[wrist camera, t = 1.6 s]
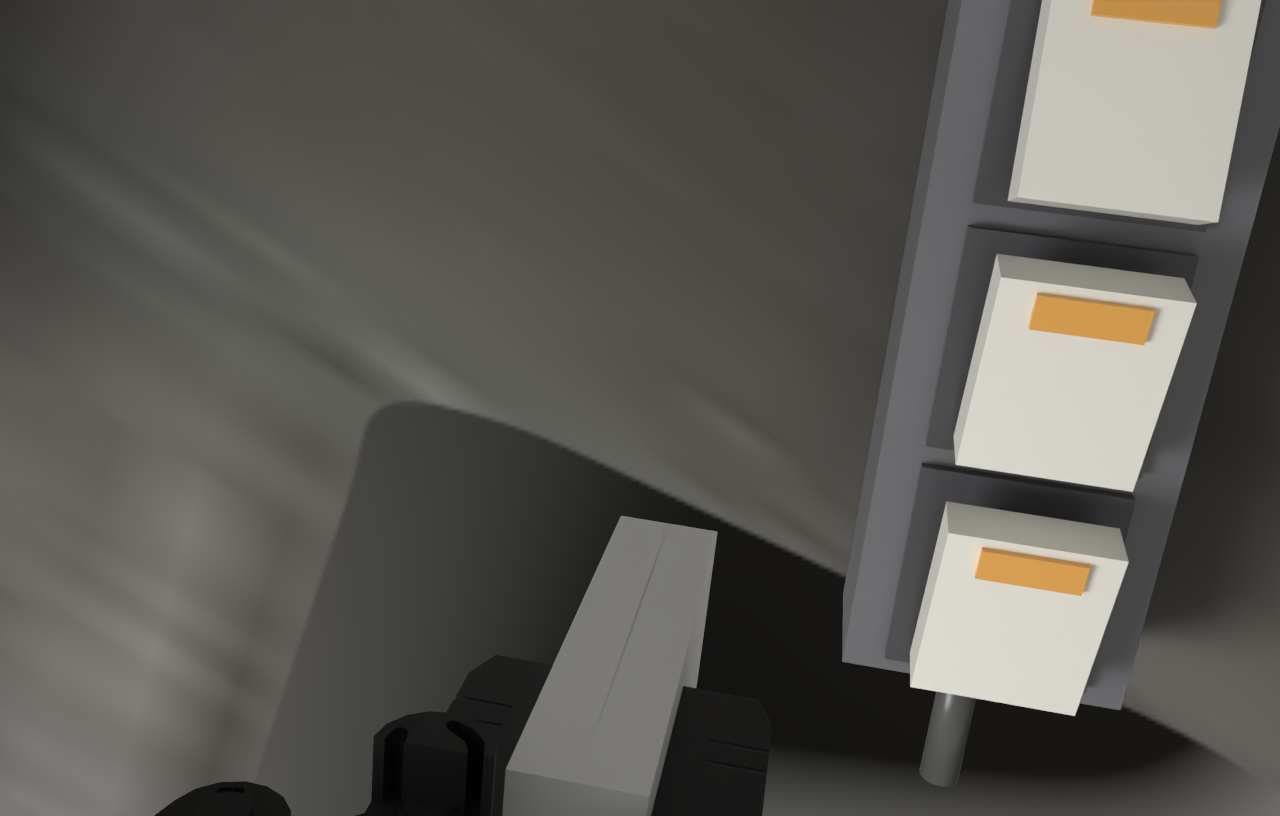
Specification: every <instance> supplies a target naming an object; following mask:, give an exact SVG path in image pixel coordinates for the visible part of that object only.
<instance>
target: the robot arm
mask: <svg viewBox="0 0 1280 816" xmlns="http://www.w3.org/2000/svg"><path fill="white" fill-rule="evenodd" d="M716 538H717V532H716V531H710V530H704V529H698V528H692V527H685V526H680V525H673V524H667V523H661V522H655V521H649V520H643V519H636V518H631V517H625V516H621V517H620V519H619V522H618V524H617V526H616V528H615V530H614V533H613V535H612V537H611V539H610V541H609V544H608V546H607V548H606V550H605V552H604V555H603V557H602V559H601V561H600V563H599V566H598V568H597V570H596V572H595V574H594V577H593V579H592V581H591V583H590V585H589V588H588V590H587V592H586V594H585V596H584V598H583V601H582V603H581V605H580V607H579V609H578V612H577V614H576V616H575V618H574V620H573V623H572V625H571V627H570V629H569V632H568V634H567V636H566V638H565V640H564V642H563V645H562V647H561V649H560V651H559V653H558V655H557V658H556V660H555V662H554V664H553V665H549V664H543V663H538V662H532V661H527V660H521V659H516V658H510V657H505V656H499V655H495V656H494V657H492V658H491V659H489V660H488V661H486V662H485V663H483V664H481V665H480V666H478V667H477V668H475V669H474V670H472V671H471V672H469V674H468V676H467V677H466V679H465V681H464V683H463V685H462V686H461V688H460V690H459V691H458V693H457V695H456V699H455V700H453V702H452V704H451V705H450V707H449V709H448V710H447V712H446V713H444V712H431V711H430V712H423V713H417V714H411V715H406V716H404V717H402V718H399V719H397V720H395V721H392V722H390V723H388V724H386V725H385V726H384V727H383V728H382V729H381V730H380V731H379V732H378V733H377V734H376V735H375V736H374V743H373V744H374V745H373V774H372V801H371V803H370V805H369V806H368V808H367V810H366V812H365V813H363V814H360V815H356V816H762V811H763V801H764V793H765V784H766V774H767V766H768V756H769V747H770V738H771V730H772V729H771V728H772V724H771V722H770V720H769V718H768V716H767V714H766V712H765V711H764V709H763V707H762V705H761V703H760V701H759V700H758V699H752V698H747V697H742V696H736V695H730V694H725V693H719V692H714V691H708V690H703V689H697V688H696V686H697V679H698V678H697V677H698V671H699V663H700V656H701V649H702V642H703V634H704V627H705V620H706V612H707V605H708V597H709V590H710V583H711V575H712V568H713V561H714V552H715V545H716ZM155 816H291V810H290V808H289V807H288V805H287V803H286V801H285V799H284V797H283V796H281V795H280V794H278V793H277V792H275V791H273V790H272V789H270V788H269V787H267V786H263V785H258V784H254V783H250V782H220V783H216V784H212V785H208V786H204V787H201V788H197V789H195V790H193V791H191V792H189V793H187V794H185V795H184V796H182V797H180V798H178V799H176V800H175V801H173V802H172V803H171V804H169V805H168V806H167V807H165V808H164V809H163V810H161V811H160V812H159V813H158V814H156V815H155Z"/></svg>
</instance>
